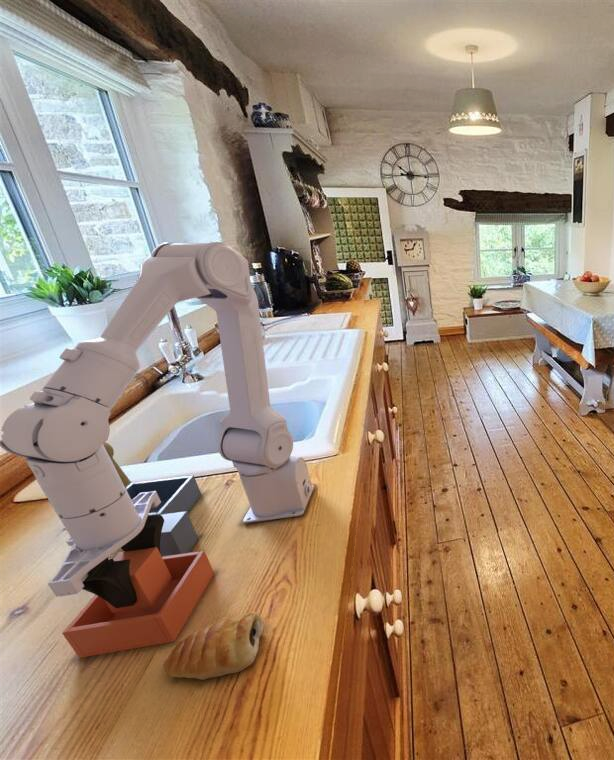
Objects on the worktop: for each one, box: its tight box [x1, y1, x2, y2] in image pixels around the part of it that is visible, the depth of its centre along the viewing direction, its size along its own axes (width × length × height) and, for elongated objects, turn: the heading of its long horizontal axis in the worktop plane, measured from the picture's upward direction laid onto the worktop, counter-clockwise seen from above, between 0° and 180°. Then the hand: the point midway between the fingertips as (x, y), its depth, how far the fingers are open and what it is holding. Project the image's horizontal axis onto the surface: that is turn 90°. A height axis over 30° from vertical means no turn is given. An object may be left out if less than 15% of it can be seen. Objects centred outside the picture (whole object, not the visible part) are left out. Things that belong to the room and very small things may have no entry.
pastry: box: [162, 610, 265, 681], centre depth 47 cm, size 9×7×4 cm
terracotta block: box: [105, 547, 172, 613], centre depth 51 cm, size 4×4×6 cm
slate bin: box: [126, 475, 203, 516], centre depth 69 cm, size 10×10×4 cm
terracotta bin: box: [61, 550, 215, 659], centre depth 53 cm, size 10×10×4 cm
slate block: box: [160, 511, 199, 557], centre depth 62 cm, size 4×4×6 cm
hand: (139, 586), depth 52 cm, fingers closed on terracotta block, 4 cm apart
